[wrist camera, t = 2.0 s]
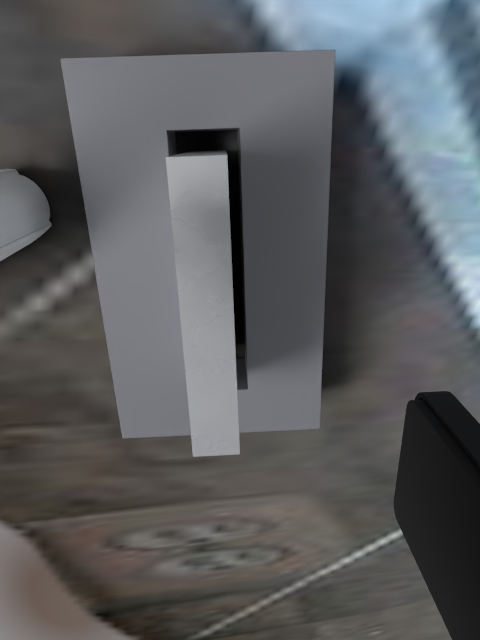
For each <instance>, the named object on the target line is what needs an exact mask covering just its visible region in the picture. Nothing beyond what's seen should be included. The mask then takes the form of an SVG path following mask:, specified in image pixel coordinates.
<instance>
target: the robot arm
mask: <svg viewBox="0 0 480 640" xmlns="http://www.w3.org/2000/svg"><path fill="white" fill-rule="evenodd" d="M394 511H395V516H396V519H397V522H398V524H399V526H400V528H401V530H402V532H403V535H404V537H405V539H406V541H407V543H408V545H409V547H410V550H411V552H412V554H413V556H414V558H415V560H416V563H417V565H418V567H419V569H420V571H421V573H422V575H423V578H424V580H425V582H426V584H427V586H428V588H429V591H430V593H431V595H432V597H433V599H434V601H435V603H436V606H437V608H438V610H439V612H440V614H441V616H442V618H443V621H444V623H445V625H446V627H447V629H448V631H449V634H450V636H451V638H452V640H480V424H479V423H478V422H477V421H476V419H475V418H474V417H473V416H472V415H471V414H470V413H469V412H468V411H467V410H466V408H465V407H464V406H463V405H462V404H461V403H460V402H459V401H458V400H457V399H456V397H455V396H454V395H453V394H452V393H450V392H448V391H440V392H421V393H418V394H417V396H416V397H415V400H410V401H409V402H408V404H407V408H406V415H405V423H404V430H403V437H402V445H401V452H400V459H399V467H398V474H397V481H396V489H395V496H394Z"/></svg>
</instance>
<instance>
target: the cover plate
mask: <svg viewBox="0 0 480 640" xmlns="http://www.w3.org/2000/svg"><path fill="white" fill-rule="evenodd" d="M166 167H167V178H168V189H169V200H170V211H171V221H172V232H173V243H174V254H175V265H176V276H177V287H178V298H179V309H180V319H181V330H182V341H183V352H184V363H185V374H186V385H187V396H188V407H189V417H190V428H191V439H192V450H193V457H195V456H215V455H234V454H240V446H239V422H238V398H237V375H236V351H235V327H234V303H233V280H232V256H231V232H230V208H229V185H228V161H227V153H226V150H215V151H189V152H185V153H181V154H177V155H173V156H169V157H166Z"/></svg>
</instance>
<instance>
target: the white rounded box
mask: <svg viewBox="0 0 480 640" xmlns="http://www.w3.org/2000/svg"><path fill="white" fill-rule="evenodd" d="M49 218H50V208H49V204H48V201H47V199H46V197H45V195H44V193H43V192H42V190H41V189H40V188H39V187H38V185H37V184H35V183H34V182H33V181H32V180H30V179H29V178H27V177H25V176H22V175H19V174H18V172H17V170H16V169H1V170H0V261H2V260H3V259H5V258H7V257H8V256H10V255H12V254H14V253H15V252H17V251H19V250H20V249H22V248H24V247H25V246H27V245H29V244H30V243H32V242H33V241H35V240H36V239H37V238H39V237H40V236H41V235H42V234H44V233H45V232H46V231H47V230H48V229H49V228H50V227H51V226H52V224H51V222H50V221H49Z"/></svg>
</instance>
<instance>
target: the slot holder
mask: <svg viewBox="0 0 480 640" xmlns="http://www.w3.org/2000/svg"><path fill="white" fill-rule="evenodd" d="M61 65H62V71H63V77H64V84H65V90H66V96H67V102H68V108H69V114H70V120H71V126H72V132H73V139H74V145H75V151H76V157H77V163H78V169H79V175H80V181H81V187H82V194H83V200H84V206H85V212H86V218H87V224H88V230H89V236H90V242H91V249H92V255H93V261H94V267H95V273H96V279H97V285H98V291H99V297H100V304H101V310H102V316H103V322H104V328H105V334H106V340H107V346H108V352H109V359H110V365H111V371H112V377H113V383H114V389H115V395H116V401H117V407H118V414H119V420H120V426H121V432H122V438H140V437H160V436H180V435H191V428H190V417H189V407H188V396H187V385H186V374H185V363H184V352H183V341H182V330H181V319H180V309H179V298H178V287H177V276H176V265H175V254H174V243H173V232H172V221H171V211H170V200H169V189H168V178H167V167H166V157H169V156H173V155H177V148H176V136H175V132H199V131H227V130H237V135H238V165H239V195H240V225H241V255H242V285H243V315H244V345H245V358H238V359H236V375H237V398H238V422H239V433H240V432H260V431H280V430H300V429H320V407H321V382H322V358H323V334H324V310H325V285H326V261H327V237H328V213H329V188H330V164H331V140H332V116H333V91H334V67H335V50H311V51H281V52H250V53H220V54H189V55H158V56H128V57H97V58H67V59H61Z"/></svg>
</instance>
